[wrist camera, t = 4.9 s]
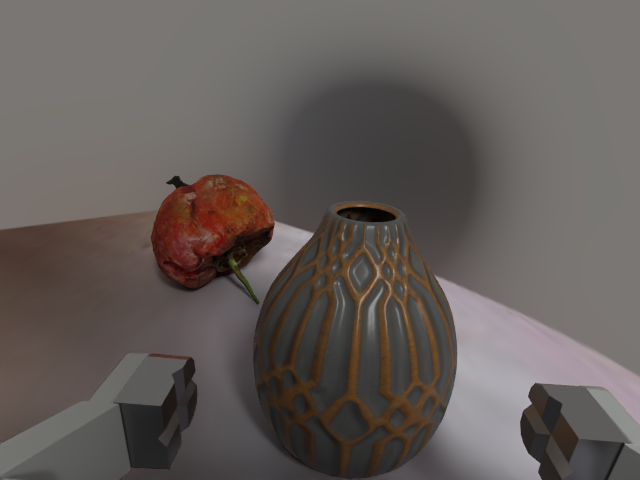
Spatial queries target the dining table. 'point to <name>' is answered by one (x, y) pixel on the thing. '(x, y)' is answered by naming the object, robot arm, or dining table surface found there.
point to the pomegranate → (210, 230)
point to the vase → (355, 346)
